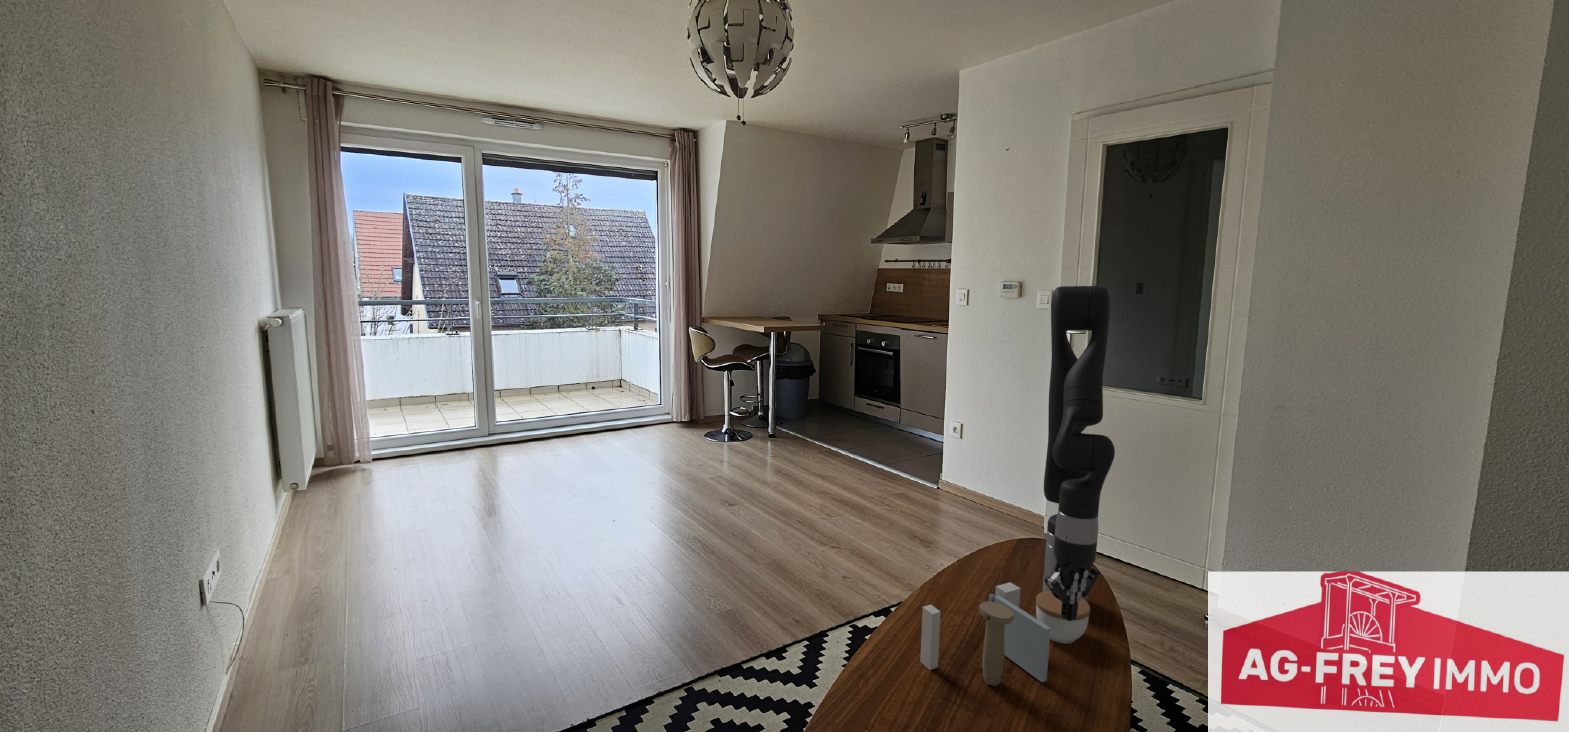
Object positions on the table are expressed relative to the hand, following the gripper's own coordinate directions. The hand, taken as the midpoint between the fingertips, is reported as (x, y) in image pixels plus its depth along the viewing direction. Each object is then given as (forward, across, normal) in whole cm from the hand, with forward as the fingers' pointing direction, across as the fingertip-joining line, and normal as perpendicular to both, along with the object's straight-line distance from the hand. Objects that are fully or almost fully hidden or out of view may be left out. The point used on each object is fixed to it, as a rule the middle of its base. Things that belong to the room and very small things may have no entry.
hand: (1068, 618), depth 133 cm
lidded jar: (+11, +8, +9) cm, 16 cm away
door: (+10, -8, +6) cm, 14 cm away
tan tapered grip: (+11, -16, +3) cm, 20 cm away
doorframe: (+11, -13, +13) cm, 21 cm away
